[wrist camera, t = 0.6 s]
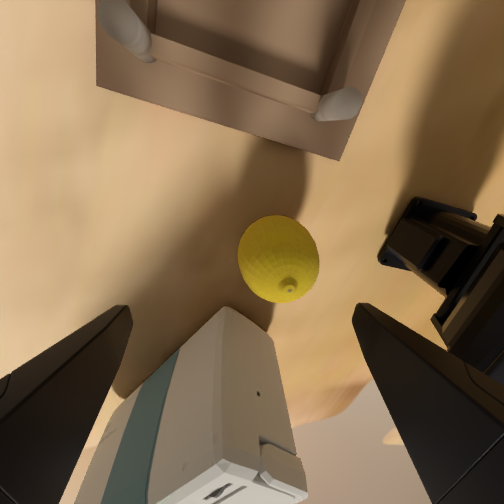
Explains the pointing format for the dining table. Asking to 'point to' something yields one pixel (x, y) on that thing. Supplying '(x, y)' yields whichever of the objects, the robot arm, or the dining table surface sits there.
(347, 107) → the cradle tray
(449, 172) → the dining table surface
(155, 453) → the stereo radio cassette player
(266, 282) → the lemon
